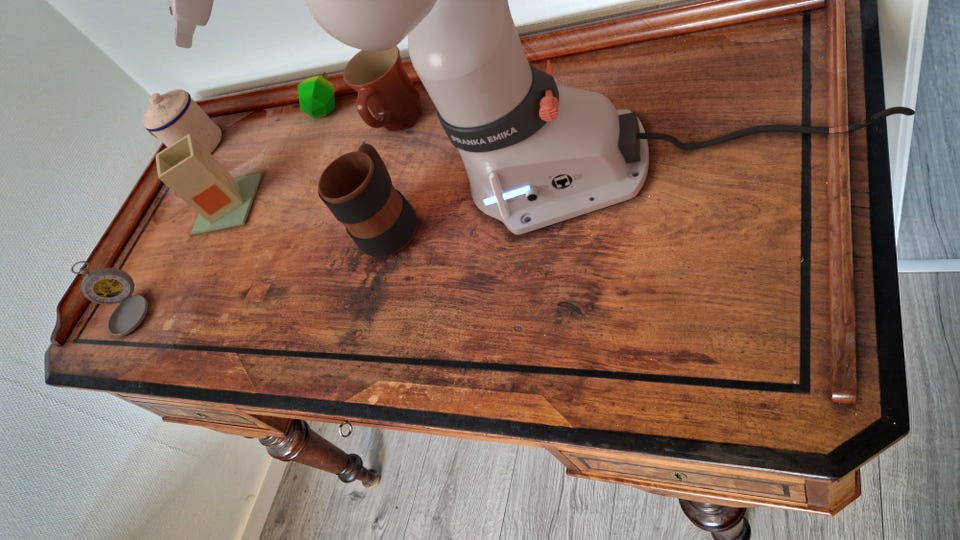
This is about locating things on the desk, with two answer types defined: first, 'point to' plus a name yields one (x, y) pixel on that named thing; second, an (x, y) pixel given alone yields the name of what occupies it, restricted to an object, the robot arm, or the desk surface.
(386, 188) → the mug
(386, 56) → the mug
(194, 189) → the bin
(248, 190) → the mat
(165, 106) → the teacup with lid
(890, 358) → the desk surface
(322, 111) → the apple
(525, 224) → the robot arm
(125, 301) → the pocket watch
